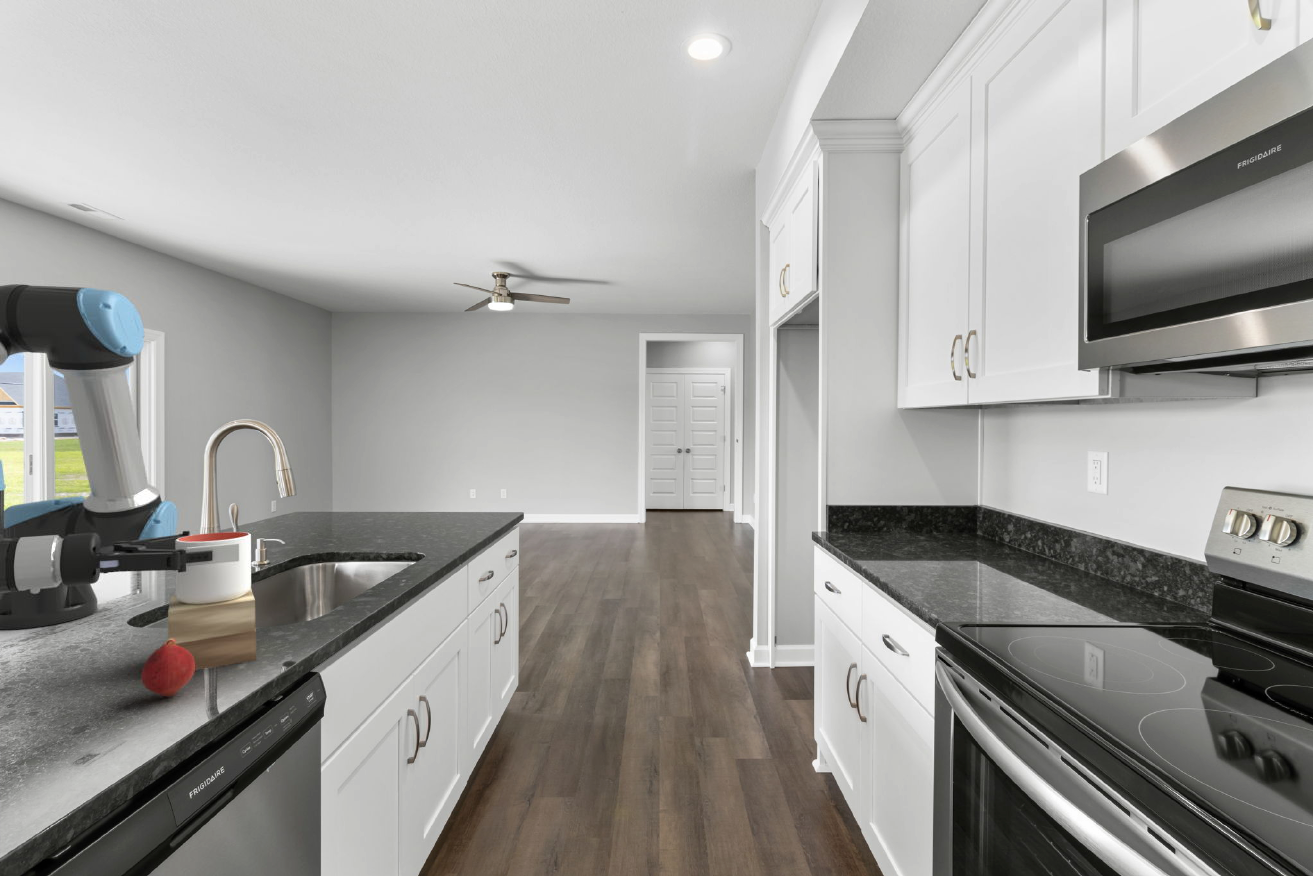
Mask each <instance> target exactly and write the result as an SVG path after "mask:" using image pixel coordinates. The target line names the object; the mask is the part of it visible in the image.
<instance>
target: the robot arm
mask: <svg viewBox="0 0 1313 876" xmlns="http://www.w3.org/2000/svg"><path fill="white" fill-rule="evenodd" d="M144 338H145V331H144V324H143V321H142V318H141V316H140V314H139V312H138V310H137V308H136V307H135V306H134V305H133V303H132V302H131V301H130V300H129V299H128V298H127V297H125V295H123V294H121V293H119V292H116V291H113V290H106V289H98V288H97V289H96V288H93V287H79V286H78V287H76V286H51V285H50V286H49V285H29V284H20V283H18V284H17V283H16V284H5V285H0V366H2V365H4V363H5V362H6V361H7V359H8V358H9V357H10V356H13V355H17V354H21V353H22V354H23V353H32V354H34V353H35V354H37V353H38V354H46V356H47V357H46V358H47V361H48V364H49V368H50V369H52V370H54V371H55V372H57V373H60V374H62V375H63V379H64V382H65V387H66V390H67V391H66V392H67V396H68V400H69V404H70V407H71V408H70V409H71V412H72V416H73V421H74V424H75V429H76V433H77V437H78V442H79V447H80V450H81V454H82V458H83V459H82V460H83V463H84V468H85V471H86V475H87V476H86V477H87V480H88V485H89V488H90V489H89V490H90V494H89V495H88V496H87V497H86V498H85V497H84V496H82V495H78V496H70V497H62V498H61V497H60V498H52V499H48V500H47V499H46V500H38V501H34V502H26V503H19V504H13V505H11V506H9V507H7V508H5V490H6V484H5V477H4V467H3V462H2V459H0V630H17V629H29V628H39V627H44V626H45V627H46V626H51V625H58V624H62V623H67V622H70V621H74V620H78V619H82V618H85V617H88V616H90V615H93V614H95V613H97V611H98V609H99V608H98V597H97V595H96V593H95V591H94V589H93V587H92V584H95V583H97V582H98V581H99V578H100V575H101V574H108V573H119V572H121V573H123V572H154V571H155V572H156V571H157V572H158V571H172V572H173V571H174V572H176V570H178V573H179V572H186V563H187V566H196V565H206V564H216V563H226V562H236V561H239V543H236V544H225V545H213V546H201V547H190V548H187V553H186V550H183V549H180V550H175V541H176V539H178V538H181V537H185V536H191V535H192V534H191V531H190V530H184V531H183V530H182V533H178V534H176V532H177V526H178V517H179V516H178V508H177V506H176V505H175V503H174V502H172V501H169V500H163V501H162V497H161V493H160V490H159V488H158V487H156V486H153V485H151V484H149V480H148V477H147V473H146V472H147V471H146V467H145V462H144V455H143V451H142V447H141V441H140V436H139V431H138V426H137V422H136V421H137V420H136V417H135V411H134V406H133V405H134V404H133V401H132V397H131V391H130V387H129V386H130V385H129V381H128V376H127V370H128V369H129V368H130V367H131V366H132V365H133V364H134V363H135V358H134V357H135V356H137V355H139V354H140V353H141V352H142V350H143V348H144V345H145V341H144ZM190 534H191V535H190Z"/></svg>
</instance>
